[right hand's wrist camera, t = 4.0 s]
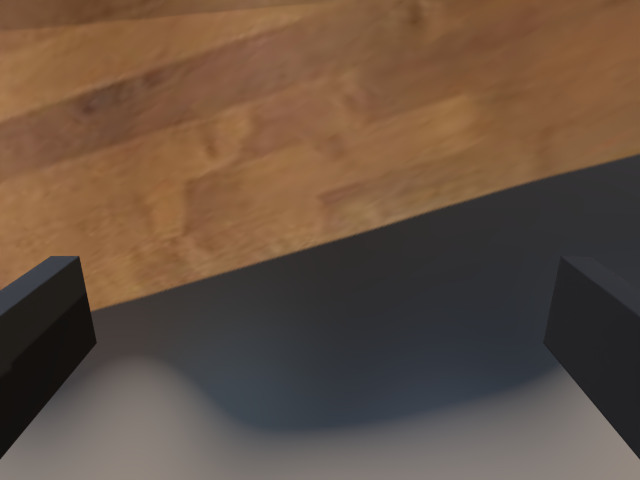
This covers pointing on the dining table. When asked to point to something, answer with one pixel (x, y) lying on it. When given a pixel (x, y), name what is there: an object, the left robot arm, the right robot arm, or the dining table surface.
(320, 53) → the dining table surface
